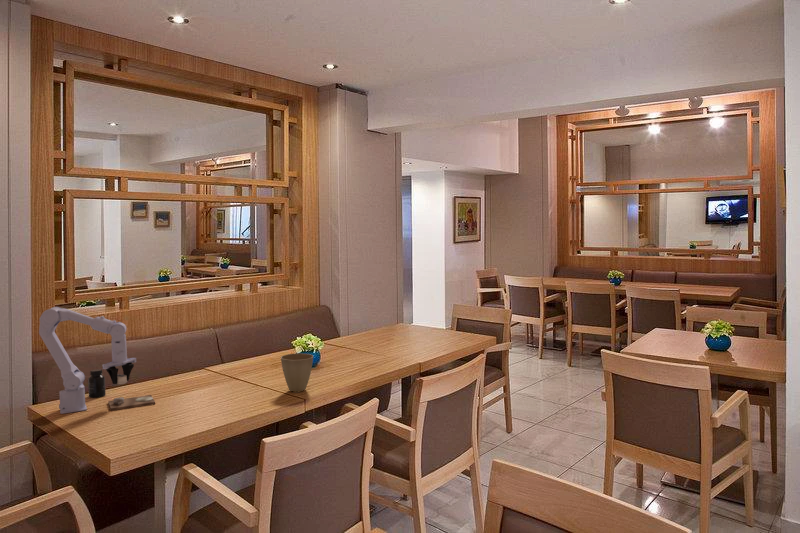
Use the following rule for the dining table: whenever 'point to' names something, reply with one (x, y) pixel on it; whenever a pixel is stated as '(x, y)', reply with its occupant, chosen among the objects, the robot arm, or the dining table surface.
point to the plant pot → (297, 370)
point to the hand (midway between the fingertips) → (120, 382)
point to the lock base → (130, 402)
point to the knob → (121, 379)
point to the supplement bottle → (96, 384)
